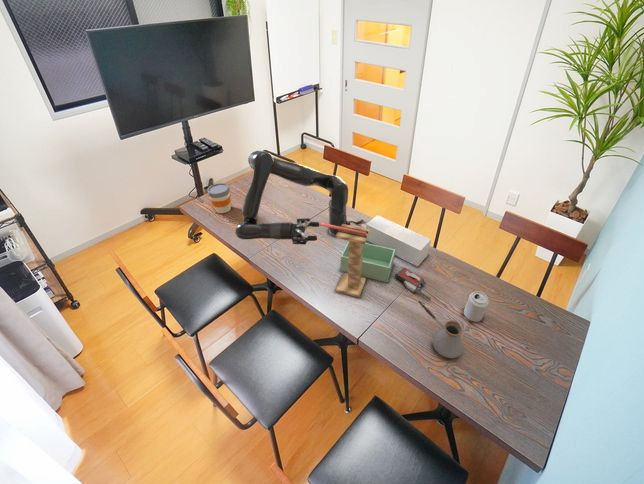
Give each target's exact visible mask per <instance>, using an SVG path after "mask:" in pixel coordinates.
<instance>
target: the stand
mask: <svg viewBox="0 0 644 484" xmlns="http://www.w3.org/2000/svg"><path fill="white" fill-rule="evenodd" d="M340 227H344V228H349V229H354V230H358V231H363V232H366V235H363V234H359V233H354V232H349V231H344V230H340V229H338V233H337V235H336V236H335V238H336V239H338V240H339V239H340V240H343V241H347V242H348V241H349V259H348V273H347V272H343V273H342V275H341V277H340V280H339V282H338V284H337V286H336V289H335V291H336V292H337V293H340V294H344V295H348V296H352V297H355V298H361V294H362V292H363V290H364V286H365V284H366V281H367V277H363V276H362V260H363V244H365V243H367V241H366V240H367V238H368V235H369V233H370V229H366V227H360V226H354V225H351V224H350V225H346V224H342V225H341V226H340Z"/></svg>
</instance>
